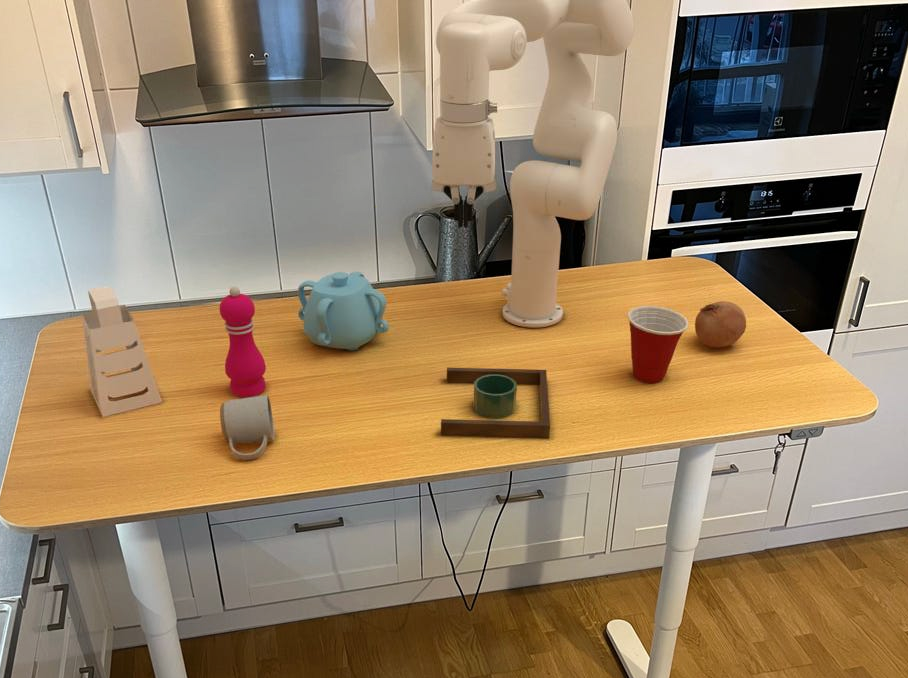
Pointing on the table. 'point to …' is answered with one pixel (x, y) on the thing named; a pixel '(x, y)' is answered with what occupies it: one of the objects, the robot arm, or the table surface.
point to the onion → (720, 324)
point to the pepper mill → (242, 346)
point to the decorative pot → (342, 311)
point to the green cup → (495, 396)
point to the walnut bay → (493, 426)
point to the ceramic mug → (247, 423)
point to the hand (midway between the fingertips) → (463, 224)
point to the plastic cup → (654, 340)
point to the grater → (116, 355)
